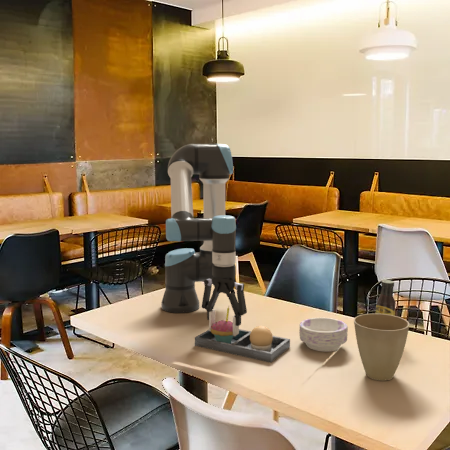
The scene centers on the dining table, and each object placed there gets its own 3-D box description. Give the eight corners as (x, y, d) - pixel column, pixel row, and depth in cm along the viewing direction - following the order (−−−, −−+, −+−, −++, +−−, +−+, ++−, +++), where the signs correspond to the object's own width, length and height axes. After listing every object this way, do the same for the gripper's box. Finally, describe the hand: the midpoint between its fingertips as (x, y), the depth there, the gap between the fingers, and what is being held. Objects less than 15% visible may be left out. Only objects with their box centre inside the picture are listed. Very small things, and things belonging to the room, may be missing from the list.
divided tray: (194, 347, 173) (194, 337, 173) (217, 334, 185) (217, 324, 185) (271, 365, 160) (271, 353, 159) (289, 349, 172) (290, 339, 171)
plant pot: (403, 367, 159) (406, 314, 156) (409, 389, 144) (412, 332, 142) (351, 362, 162) (353, 311, 159) (351, 383, 148) (354, 328, 145)
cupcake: (224, 335, 182) (224, 301, 180) (242, 342, 176) (243, 307, 174) (205, 341, 176) (205, 306, 174) (223, 349, 170) (223, 312, 168)
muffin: (245, 352, 168) (245, 328, 167) (256, 344, 174) (256, 321, 173) (266, 356, 164) (266, 332, 163) (276, 348, 170) (276, 325, 169)
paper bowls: (296, 338, 181) (297, 316, 180) (342, 339, 181) (343, 316, 180) (301, 356, 166) (302, 332, 165) (351, 357, 166) (352, 332, 165)
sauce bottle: (370, 338, 182) (372, 281, 179) (379, 333, 186) (381, 277, 183) (388, 343, 177) (391, 284, 174) (397, 338, 182) (400, 281, 179)
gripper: (189, 262, 174) (190, 330, 177) (247, 270, 163) (247, 342, 167) (202, 258, 180) (202, 323, 184) (258, 265, 170) (257, 334, 173)
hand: (223, 332), depth 175 cm, fingers closed on cupcake, 8 cm apart
